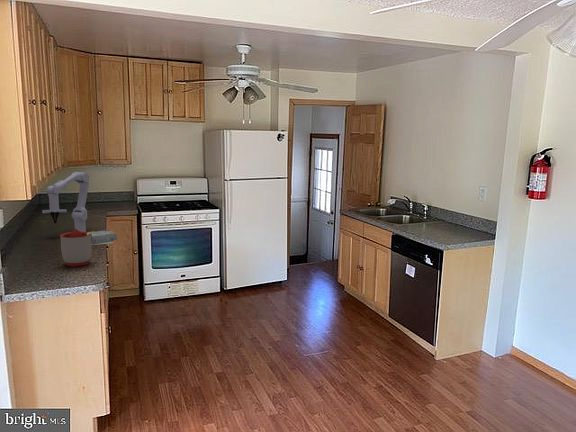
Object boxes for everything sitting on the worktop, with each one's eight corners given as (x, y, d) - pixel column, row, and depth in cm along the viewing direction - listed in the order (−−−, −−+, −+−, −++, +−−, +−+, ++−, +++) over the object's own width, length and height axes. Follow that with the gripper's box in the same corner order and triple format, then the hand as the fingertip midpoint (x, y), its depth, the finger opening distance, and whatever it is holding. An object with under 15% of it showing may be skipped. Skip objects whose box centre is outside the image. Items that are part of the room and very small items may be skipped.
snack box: (105, 228, 314) (117, 232, 304) (106, 236, 315) (117, 240, 305) (75, 233, 298) (86, 237, 288) (75, 241, 299) (86, 245, 289)
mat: (68, 241, 299) (68, 241, 299) (110, 238, 311) (110, 238, 311) (69, 247, 285) (69, 246, 285) (113, 243, 297) (113, 243, 297)
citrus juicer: (101, 263, 249) (99, 228, 246) (68, 269, 237) (66, 232, 233) (88, 258, 260) (86, 224, 256) (56, 264, 247) (54, 228, 244)
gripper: (41, 204, 298) (43, 224, 300) (66, 203, 305) (67, 223, 307) (42, 203, 304) (43, 223, 306) (65, 202, 311) (66, 221, 313)
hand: (55, 223), depth 307 cm, fingers closed
